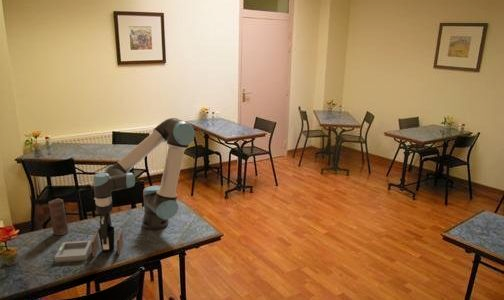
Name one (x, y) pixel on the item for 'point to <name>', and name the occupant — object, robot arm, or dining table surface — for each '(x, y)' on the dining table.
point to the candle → (58, 216)
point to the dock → (73, 251)
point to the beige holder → (96, 243)
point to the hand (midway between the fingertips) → (107, 244)
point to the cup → (110, 239)
